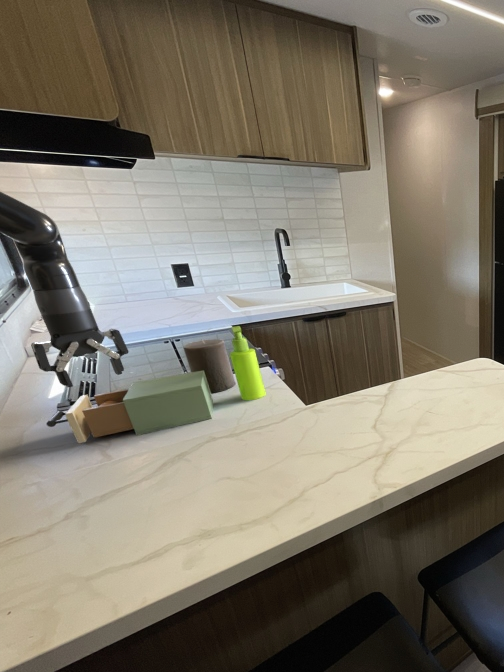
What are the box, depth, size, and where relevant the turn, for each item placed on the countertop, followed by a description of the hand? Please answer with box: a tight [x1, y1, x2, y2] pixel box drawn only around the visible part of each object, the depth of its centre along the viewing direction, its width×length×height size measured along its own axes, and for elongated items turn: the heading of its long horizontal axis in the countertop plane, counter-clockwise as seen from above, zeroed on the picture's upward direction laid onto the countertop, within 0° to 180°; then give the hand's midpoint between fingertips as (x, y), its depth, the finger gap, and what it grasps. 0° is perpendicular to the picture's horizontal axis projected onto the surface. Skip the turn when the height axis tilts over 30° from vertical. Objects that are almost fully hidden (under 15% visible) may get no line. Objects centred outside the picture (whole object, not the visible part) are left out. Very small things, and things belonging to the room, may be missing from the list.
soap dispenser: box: [229, 325, 267, 401], centre depth 109 cm, size 6×7×20 cm
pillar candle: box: [183, 338, 237, 394], centre depth 117 cm, size 10×10×15 cm
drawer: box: [46, 388, 134, 444], centre depth 94 cm, size 18×12×7 cm
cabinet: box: [123, 370, 214, 436], centre depth 100 cm, size 15×13×9 cm
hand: (95, 380), depth 91 cm, fingers open, 8 cm apart
